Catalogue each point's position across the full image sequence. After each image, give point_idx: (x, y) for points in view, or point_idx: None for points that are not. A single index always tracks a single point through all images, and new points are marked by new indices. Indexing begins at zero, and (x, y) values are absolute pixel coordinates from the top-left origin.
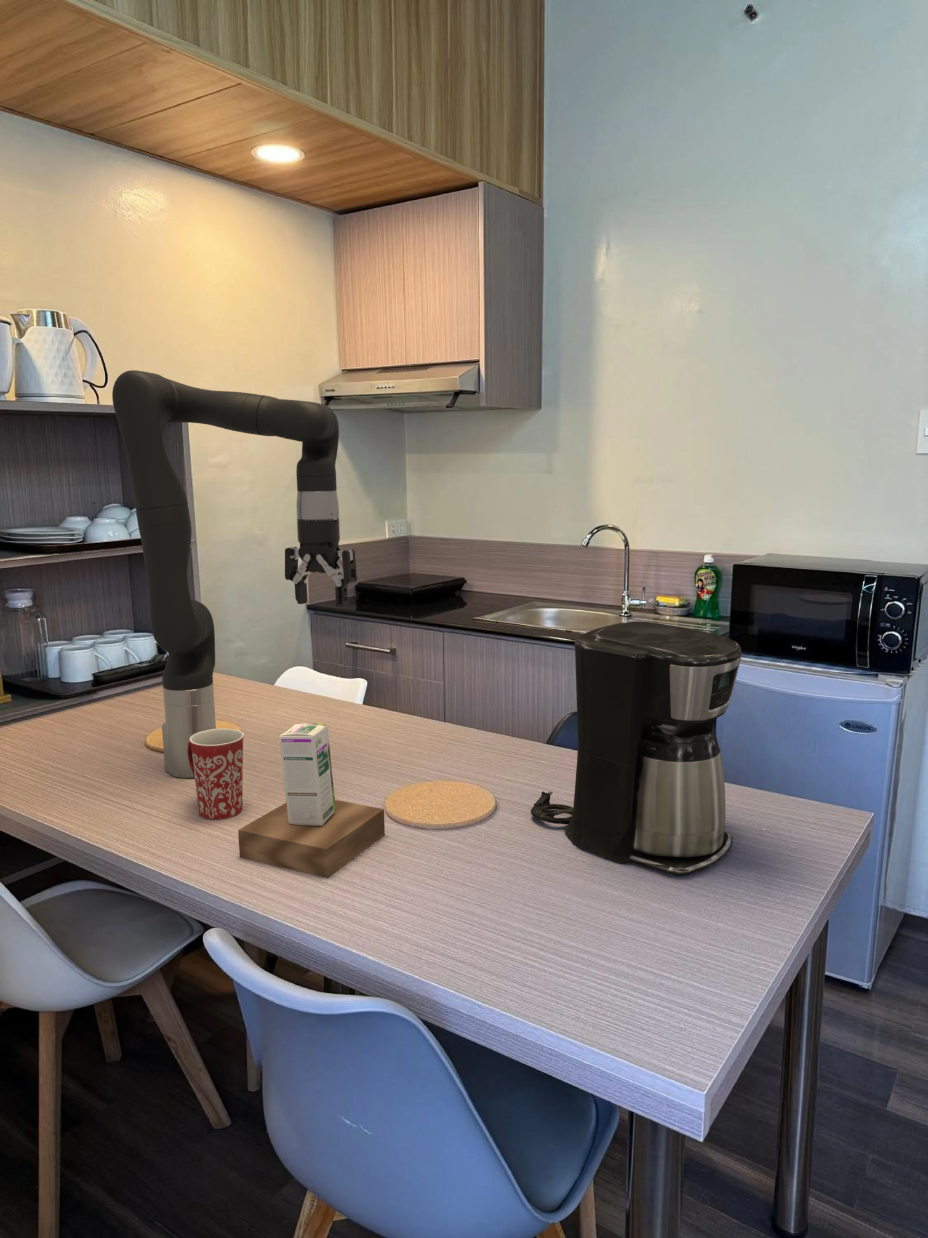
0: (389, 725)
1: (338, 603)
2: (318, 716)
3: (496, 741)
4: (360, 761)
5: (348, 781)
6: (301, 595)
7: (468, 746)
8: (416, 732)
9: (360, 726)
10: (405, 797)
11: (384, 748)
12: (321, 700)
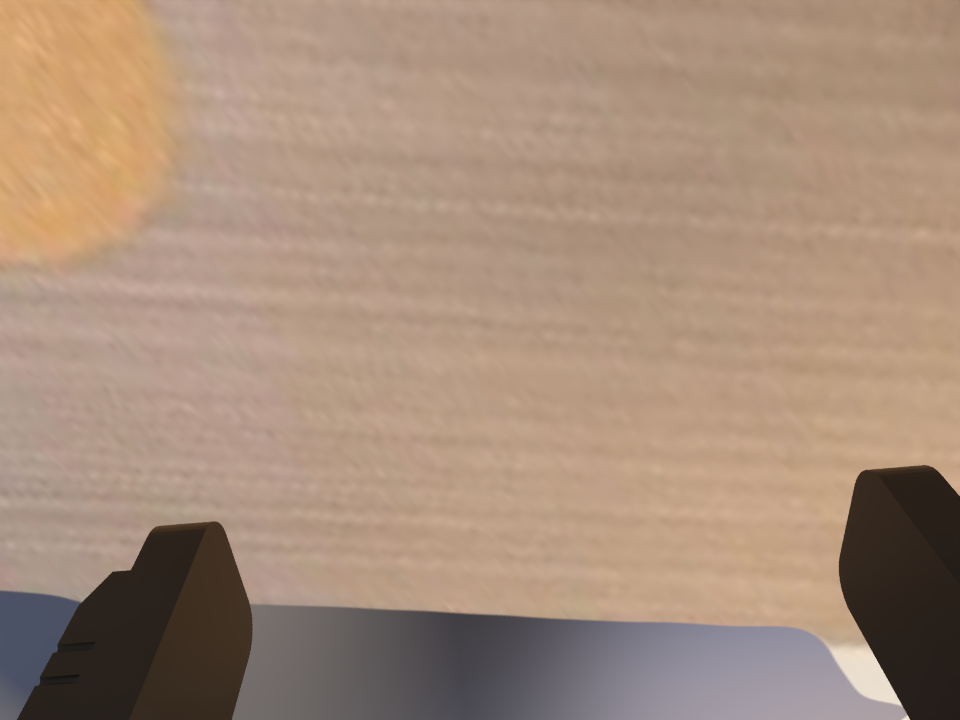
0: (601, 545)
1: (151, 554)
2: None
3: None
4: (476, 254)
5: (380, 69)
6: (923, 582)
7: (267, 507)
8: (485, 533)
9: (682, 503)
10: (92, 42)
11: (484, 386)
12: None
